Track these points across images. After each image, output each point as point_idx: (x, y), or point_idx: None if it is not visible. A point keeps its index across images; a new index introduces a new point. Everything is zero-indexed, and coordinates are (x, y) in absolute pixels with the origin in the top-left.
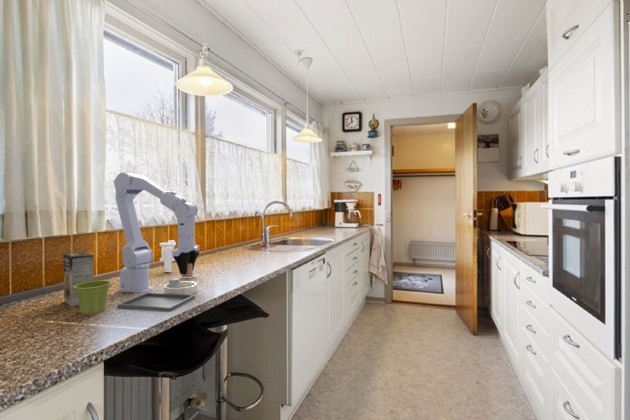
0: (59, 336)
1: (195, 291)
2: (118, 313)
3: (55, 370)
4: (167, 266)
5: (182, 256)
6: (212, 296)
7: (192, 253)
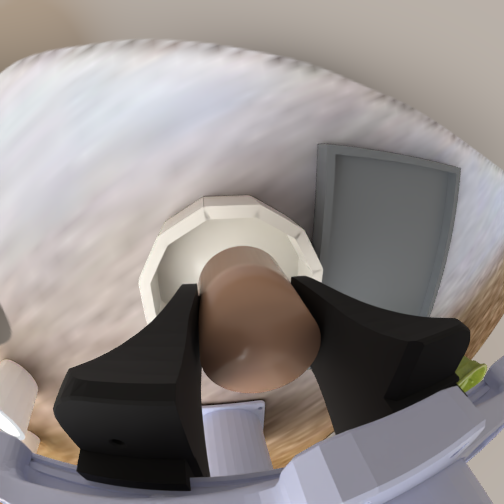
0: (498, 291)
1: (218, 198)
2: (439, 303)
3: None
4: (31, 449)
5: (453, 367)
6: (249, 79)
7: (191, 439)
